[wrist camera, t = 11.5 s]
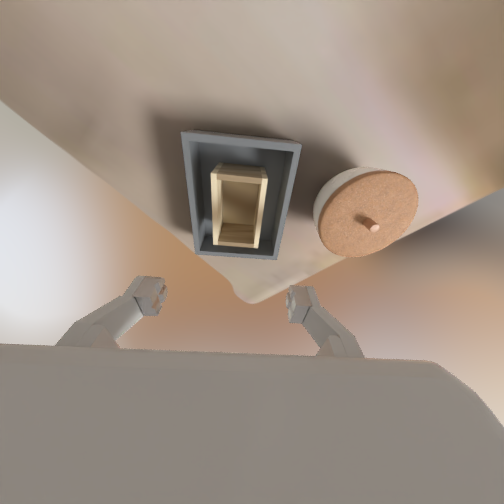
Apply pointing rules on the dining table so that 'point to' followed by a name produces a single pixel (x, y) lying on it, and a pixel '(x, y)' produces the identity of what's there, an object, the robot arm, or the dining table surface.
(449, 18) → the dining table surface
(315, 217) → the lidded jar
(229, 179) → the pine crate
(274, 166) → the grey crate
